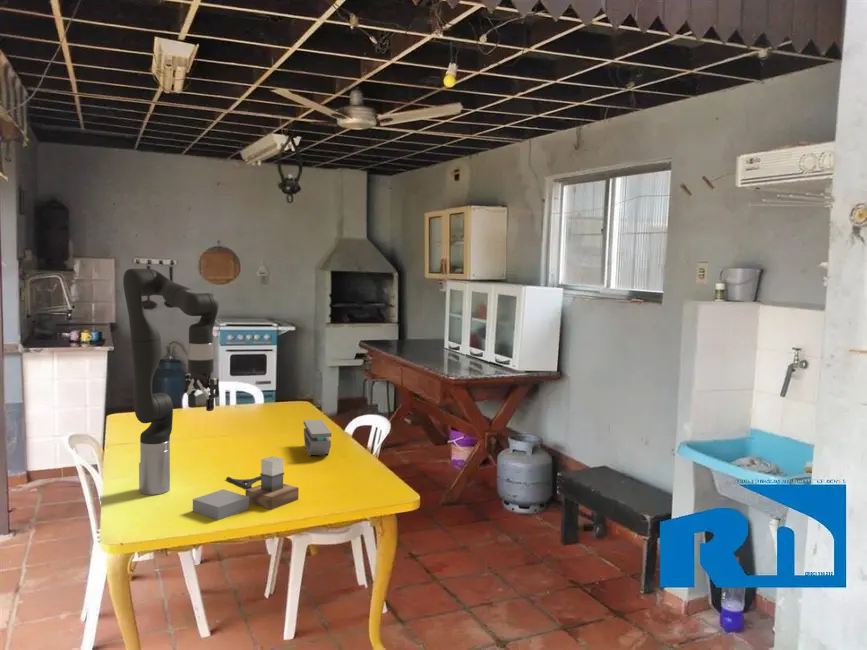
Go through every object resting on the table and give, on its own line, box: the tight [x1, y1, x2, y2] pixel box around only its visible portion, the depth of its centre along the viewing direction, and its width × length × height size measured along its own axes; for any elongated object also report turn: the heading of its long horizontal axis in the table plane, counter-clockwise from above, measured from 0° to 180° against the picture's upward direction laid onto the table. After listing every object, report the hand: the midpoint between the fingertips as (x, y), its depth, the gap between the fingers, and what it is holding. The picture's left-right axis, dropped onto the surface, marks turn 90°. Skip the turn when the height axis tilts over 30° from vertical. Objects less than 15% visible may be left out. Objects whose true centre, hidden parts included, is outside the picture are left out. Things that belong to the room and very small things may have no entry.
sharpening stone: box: [303, 419, 332, 457], centre depth 284 cm, size 25×8×11 cm, turn 18°
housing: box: [259, 455, 285, 492], centre depth 224 cm, size 5×5×10 cm
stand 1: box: [192, 488, 250, 521], centre depth 214 cm, size 12×12×4 cm
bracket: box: [225, 475, 261, 490], centre depth 245 cm, size 14×15×3 cm
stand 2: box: [245, 483, 300, 510], centre depth 225 cm, size 12×12×4 cm
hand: (200, 408), depth 213 cm, fingers open, 8 cm apart
